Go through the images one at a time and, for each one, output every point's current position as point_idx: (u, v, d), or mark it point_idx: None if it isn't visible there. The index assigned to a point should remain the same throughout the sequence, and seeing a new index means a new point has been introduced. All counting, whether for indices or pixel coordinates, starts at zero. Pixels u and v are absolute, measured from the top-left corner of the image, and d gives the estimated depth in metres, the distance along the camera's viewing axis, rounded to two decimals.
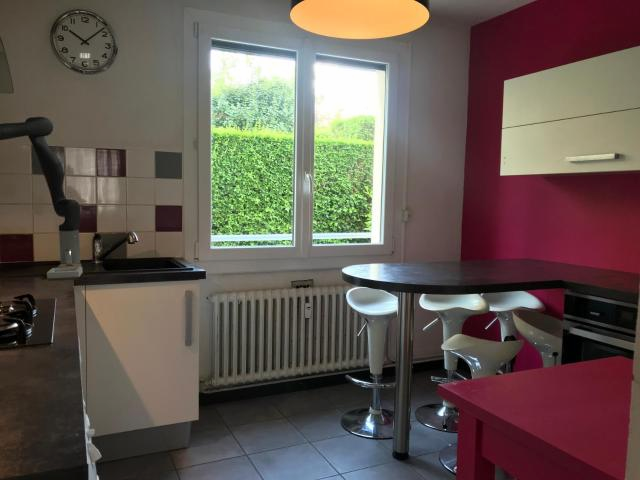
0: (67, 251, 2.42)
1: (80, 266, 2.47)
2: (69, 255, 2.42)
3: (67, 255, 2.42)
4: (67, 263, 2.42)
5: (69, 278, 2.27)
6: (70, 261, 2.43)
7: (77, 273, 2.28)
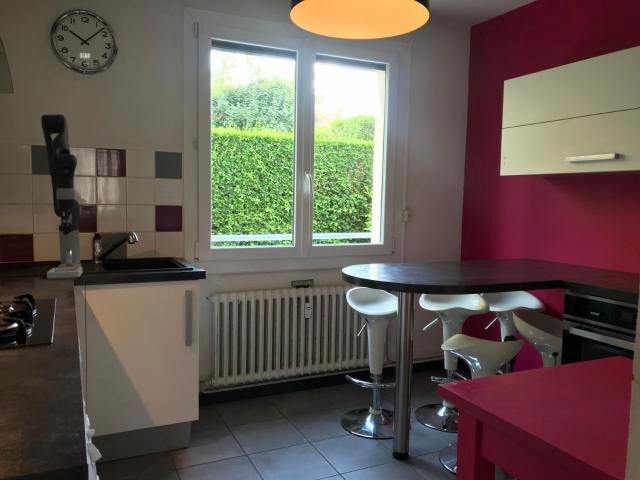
0: (68, 251, 2.42)
1: (80, 266, 2.47)
2: (70, 255, 2.42)
3: (68, 255, 2.42)
4: (67, 263, 2.42)
5: (69, 278, 2.27)
6: (70, 261, 2.43)
7: (77, 273, 2.28)
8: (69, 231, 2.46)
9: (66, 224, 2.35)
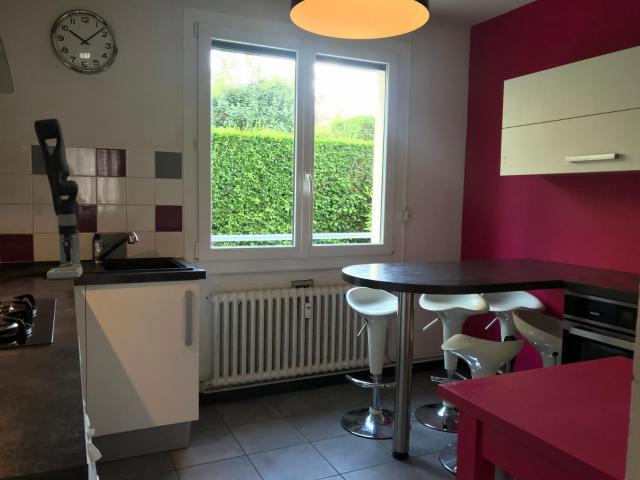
0: None
1: (80, 266, 2.47)
2: None
3: None
4: (67, 263, 2.42)
5: (69, 278, 2.27)
6: None
7: (77, 273, 2.28)
8: None
9: (69, 252, 2.39)
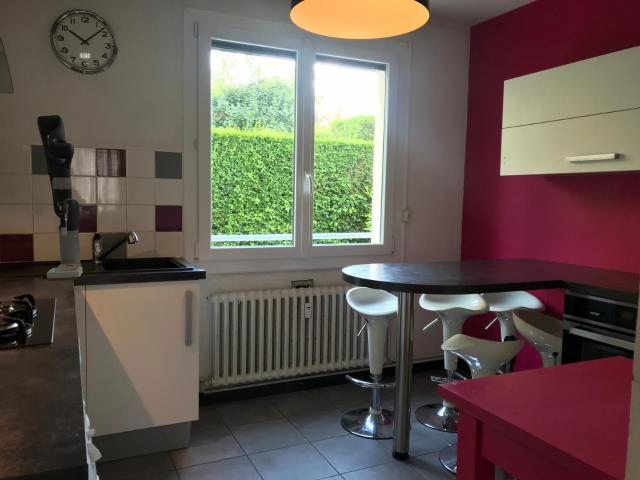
0: None
1: (80, 266, 2.47)
2: None
3: None
4: (62, 228, 2.33)
5: (69, 278, 2.27)
6: None
7: (77, 273, 2.28)
8: None
9: (64, 217, 2.30)
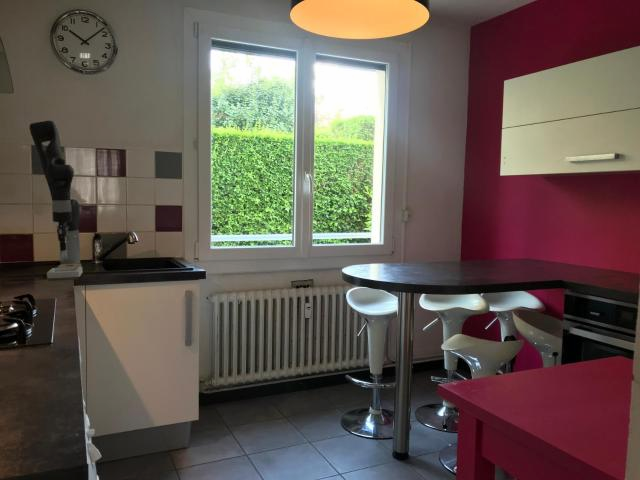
0: None
1: (80, 266, 2.47)
2: None
3: None
4: (62, 251, 2.30)
5: (69, 278, 2.27)
6: None
7: (77, 273, 2.28)
8: None
9: (64, 240, 2.27)
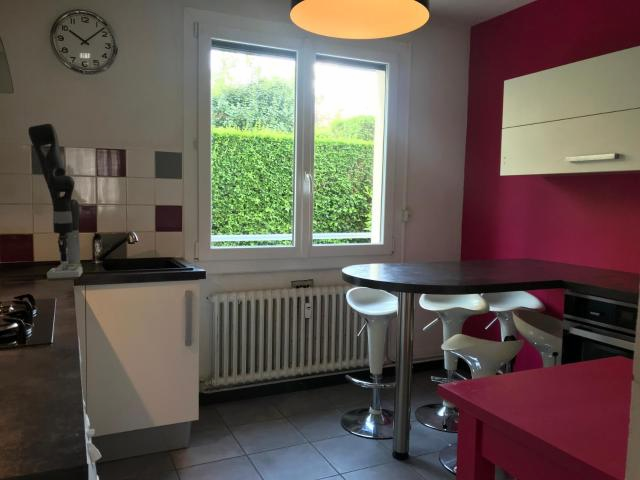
0: None
1: (80, 266, 2.47)
2: None
3: None
4: (63, 262, 2.31)
5: (69, 278, 2.27)
6: None
7: (77, 273, 2.28)
8: None
9: (65, 251, 2.28)
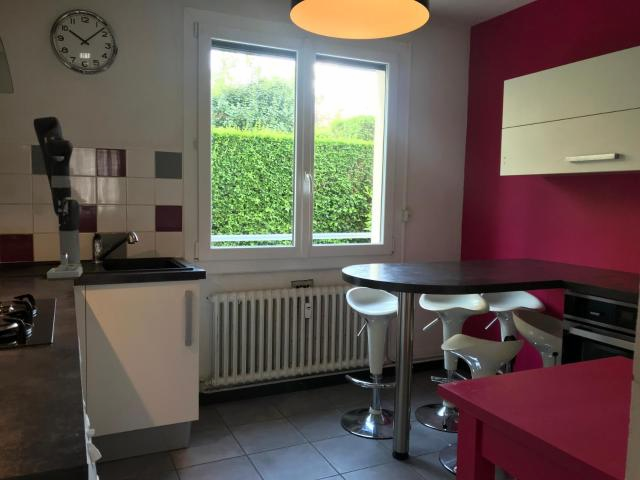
0: (64, 255, 2.30)
1: (80, 266, 2.47)
2: (65, 259, 2.31)
3: (63, 259, 2.31)
4: (63, 267, 2.31)
5: (69, 278, 2.27)
6: (66, 265, 2.32)
7: (77, 273, 2.28)
8: (65, 221, 2.34)
9: (62, 213, 2.24)
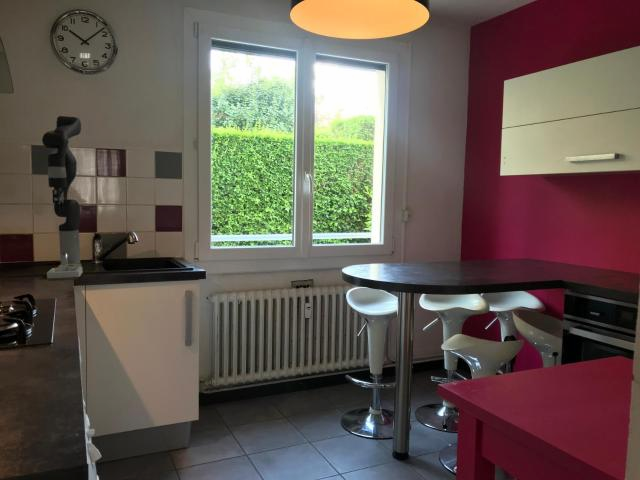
0: (63, 255, 2.30)
1: (80, 266, 2.47)
2: (65, 259, 2.31)
3: (63, 259, 2.31)
4: (63, 267, 2.31)
5: (69, 278, 2.27)
6: (66, 265, 2.32)
7: (77, 273, 2.28)
8: (61, 210, 2.48)
9: (58, 202, 2.37)
